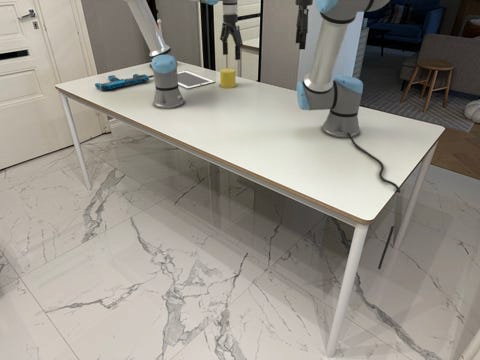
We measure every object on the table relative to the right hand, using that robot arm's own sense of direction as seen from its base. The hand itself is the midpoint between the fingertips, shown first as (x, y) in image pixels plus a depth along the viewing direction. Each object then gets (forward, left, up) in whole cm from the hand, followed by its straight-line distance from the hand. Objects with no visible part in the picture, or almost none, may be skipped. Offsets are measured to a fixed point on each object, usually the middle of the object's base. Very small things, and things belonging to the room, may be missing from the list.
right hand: (300, 46), depth 160 cm
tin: (+46, +18, -29) cm, 57 cm away
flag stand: (+107, +41, -29) cm, 118 cm away
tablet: (+67, +37, -29) cm, 82 cm away
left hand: (+34, +20, -10) cm, 41 cm away
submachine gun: (+78, +74, -29) cm, 111 cm away
